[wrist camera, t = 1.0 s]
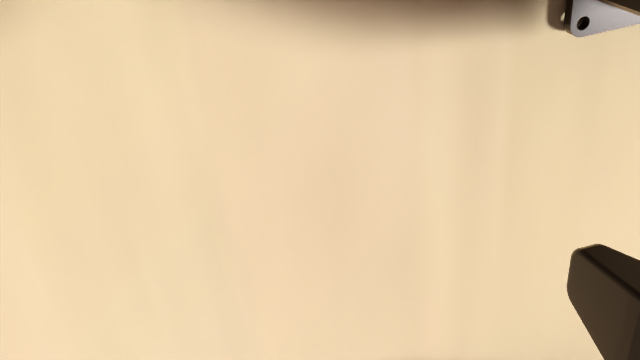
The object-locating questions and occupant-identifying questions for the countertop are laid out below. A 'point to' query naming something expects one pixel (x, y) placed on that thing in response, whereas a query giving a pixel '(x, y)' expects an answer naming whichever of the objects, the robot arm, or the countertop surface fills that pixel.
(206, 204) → the countertop surface
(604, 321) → the robot arm
